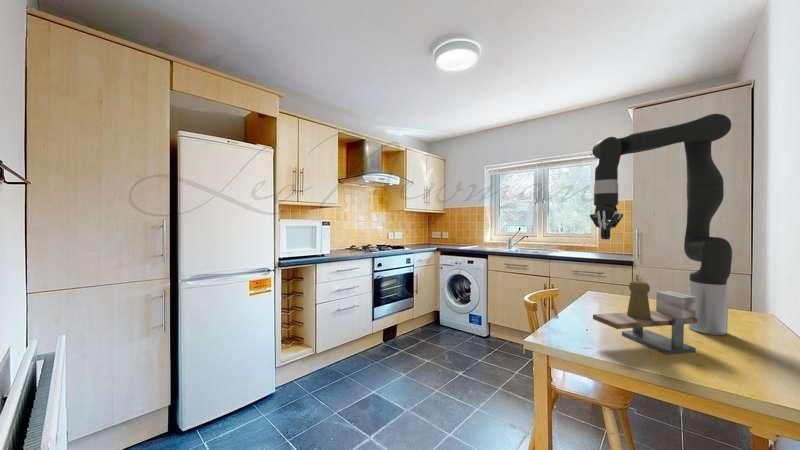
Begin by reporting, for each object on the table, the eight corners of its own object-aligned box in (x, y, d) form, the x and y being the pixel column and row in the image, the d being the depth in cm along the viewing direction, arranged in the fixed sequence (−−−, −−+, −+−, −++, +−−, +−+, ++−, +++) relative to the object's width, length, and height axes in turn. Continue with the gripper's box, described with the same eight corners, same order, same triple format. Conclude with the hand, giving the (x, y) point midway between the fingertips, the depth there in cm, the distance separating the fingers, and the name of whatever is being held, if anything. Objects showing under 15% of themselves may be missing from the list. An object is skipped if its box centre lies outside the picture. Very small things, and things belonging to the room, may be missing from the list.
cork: (655, 320, 92) (656, 284, 92) (633, 319, 93) (633, 283, 93) (643, 314, 98) (644, 280, 98) (622, 312, 99) (623, 279, 99)
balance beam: (664, 313, 103) (664, 290, 103) (701, 324, 92) (701, 298, 92) (590, 318, 99) (590, 293, 99) (620, 330, 88) (620, 302, 88)
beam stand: (646, 333, 105) (647, 304, 105) (695, 351, 90) (696, 318, 90) (621, 334, 103) (622, 305, 103) (667, 354, 88) (668, 320, 88)
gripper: (630, 191, 107) (630, 240, 107) (600, 194, 120) (599, 238, 120) (612, 191, 106) (611, 240, 106) (583, 194, 119) (583, 238, 119)
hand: (605, 239), depth 113 cm, fingers closed
